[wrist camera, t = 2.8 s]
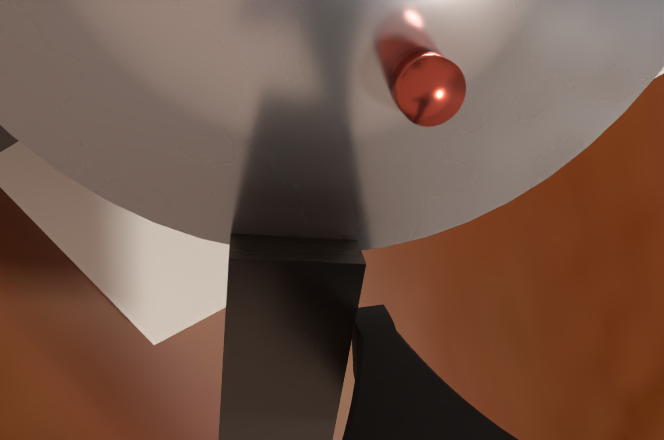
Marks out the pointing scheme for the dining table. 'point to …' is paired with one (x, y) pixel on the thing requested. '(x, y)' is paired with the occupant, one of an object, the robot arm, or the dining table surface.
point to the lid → (314, 142)
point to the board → (122, 248)
